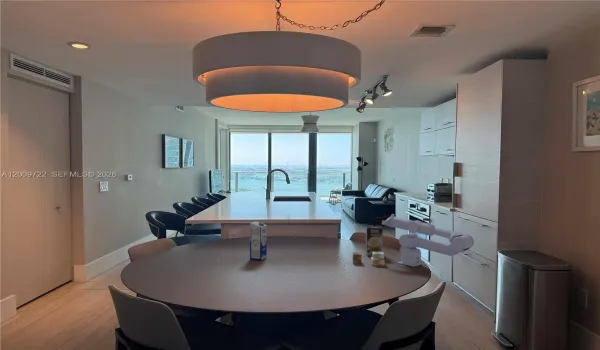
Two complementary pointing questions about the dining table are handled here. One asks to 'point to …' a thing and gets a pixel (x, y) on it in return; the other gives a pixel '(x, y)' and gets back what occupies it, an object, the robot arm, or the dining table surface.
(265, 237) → the milk carton
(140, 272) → the dining table surface
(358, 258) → the walnut block
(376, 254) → the top block
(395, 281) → the dining table surface
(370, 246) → the coffee box
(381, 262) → the base block
